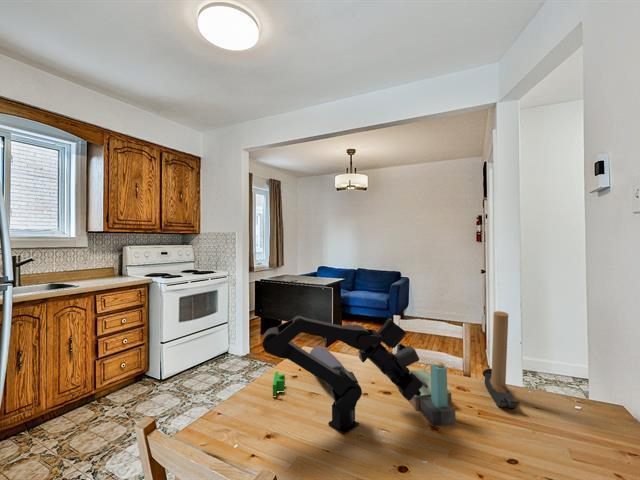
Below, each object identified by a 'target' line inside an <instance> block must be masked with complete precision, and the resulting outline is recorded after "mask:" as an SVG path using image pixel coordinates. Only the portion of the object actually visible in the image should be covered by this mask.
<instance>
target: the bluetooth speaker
mask: <svg viewBox="0 0 640 480" xmlns="http://www.w3.org/2000/svg"><path fill="white" fill-rule="evenodd" d="M309 354H311V355H312V356H314V357H316V358H317V359H319V360H320V361H322V362H324V363H325V364H327V365H328V366H330V367H332V368H333V369H336V370H341V367H342V366H343V367H344V365H343V364H342V363H341V362H340V361H339V360H338V358H337V357H336V356H335V355H334V354H333V353H332V352H330V351H329V350H328V349H327V348H326V347H324V346H322V345H320V346H319V345H317V346H315V347H313V348H312V349H311V351H310V353H309ZM344 368H345V367H344ZM324 384H325V385H326V386H327V387H329V388H330V389H331V390H332V389H333V388H332V387H331V386H330V385H329V384H327V383H326V382H324Z"/></svg>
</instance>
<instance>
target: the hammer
mask: <svg viewBox="0 0 640 480" xmlns="http://www.w3.org/2000/svg"><path fill="white" fill-rule="evenodd" d="M492 316H493V319H492V321H493V322H492V325H493V326H492V347H491V350H492V351H491V368H486V369H484V370H483V371H482V375H483V377H484V385H485V387H486V389H487V392H488V393H489V395H490V397H491V398H492V400H493V402H494V403H495V405H496V406H497V407H500V408H501V407H502V408H510V409H517V407H518V406H519V404H520V401H515V399H514V398H513V395H512V394H511V392H510V390H509V389H508V387H507V384H506V382H507V381H506V380H507V359H508V358H507V357H508V355H507V354H508V330H509V313H508V312H505V311H500V310H499V311H498V310H495V311H493V315H492Z"/></svg>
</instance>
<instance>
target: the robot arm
mask: <svg viewBox="0 0 640 480" xmlns="http://www.w3.org/2000/svg"><path fill="white" fill-rule="evenodd" d="M301 333H302V334H308V335H312V336H316V337H322V338H326V339H329V340H335V341H340V342H341V343H344V344H346V345H347V346H349V347H351V348H353V349H357V350H358V353H359V354H358V355H359V356H358V358H359V360H360V362H361V363H365V362H366V361H367V359H368V360H369V361H370V362H372V364H373V365H374V366H375V367H377V369H379V371H380V372H381V373H382V374H383V375H385V376H386V377H387V378H388V379H389V380H390V382H392V383H393V385H395V387H397V386H398V388H399V389H398V388H397V389H398V392H399V393H400V395H402V396H403V398H404V399H405V400H407V401H408V402H409V400H411V399H412V398H413V396H414V395H417V396H420V394H421V392H420V391H419V389H420V388H421V387H422V386H423V383H422V382H421V381H420V380H419V379H418V378H417V377H416V376H415V375H414V374H413V373H412V372H411V373H410V371H411V370H410V369H409V368H408V367H409V366H411V365H413V364H415V363H418V362H419V361H420V357H419V355H418V353H417V351H416V349H415V348H414V347H412V345H406V346H405V345H404V344H403V343H400V342H401V341H402V340H403V339H404V338H405V337H406V335H408V334H407V332H406V331H405V330H404V329H403V328H402V327H400V326H399V325H398V324H396V323H395V322H394V321H393V320H392V319H391V318H387V319H386V321H385V322H384V324H382V326H381V327H379V329H378V330H376V329H373V328H365V327H364V325H361V324H360V325H359V324H346V325H343V324H342V325H339V324H335V323H331V322H325V321H321V320H318V319H313V318H309V317H308V318H307V317H304V316H302V315H296V316H294V317H293V318H291V319H290V320H288V321H286V322H283V323H281V324H280V325H278V326H277V327H276V326H273V327H270V328H268V329H267V330H266V331H265V333H264V334H263V340H262V349H263V350H264V352H265V353H267V354H269V355H271V356H274V357H276V358H280V359H284V360H289V361H290V362H292V363H294V364H295V365H297V366H298V367H300V368H301V369H304V371H306V372H308V373H310V374H312V375H313V376H315V377H317V378H318V379H319V380H321V381H323V383H325V382H326V383H327V384H329V385H330V386H331V387H332V388H333V389H331V390H330V393H331V396H332V398H333V403H332V404H331V420H330V421H329V422H328V424H327V425H329V427H331V428H333V429H334V430H336V431H338V432H339V433H340V434H343V435H345V434H347V433H348V432H351V431H352V430H354V429H355V428H357V427H358V426H359V424H360V423H359V422H358V421H356V406H357V405H358V404H357V402H358V401H359V400H361V397H362V394H363V393H362V392H363V390H362V386H361V385H360V384H359V380H358V379H357V377H356V375H355V374H354V373H353V371H349V370H347V368H346V367H343V366H344V365H343V366H342V367H341V370H336V369H333V368H332V367H330V366H328V365H327V364H325V363H324V362H322V361H320V360H319V359H317V358H316V357H314V356H312V355H311V354H310V353H309V352H308V351H306V350H305V349H303V348H301V347H299V346H298V345H296V344H295V343H294V342H293V339H295V338H296V337H297V336H298V335H300V334H301ZM382 343H383V344H384V345H383V344H382ZM385 346H386V347H387V348H388V349H390V348H391V349H395V348H396V353H393V352H390V351H389V350H388V349H387V348H386V347H385Z"/></svg>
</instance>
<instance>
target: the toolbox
mask: <svg viewBox="0 0 640 480" xmlns="http://www.w3.org/2000/svg"><path fill="white" fill-rule="evenodd" d="M409 371H410V373H411V372H412V373H413V374H414V375H415V376H416V377H417V378H418V379H419V380H420V381H421V382H422V383H423V386H422V387H421V388H420V389H419V391H420V392H421V394H420V396H417V395H414V396H413V398H412V399H411V400H409V401H408V403H409V404H410V405H411V406H412V407H413V409H414V410H415V411H419V412H420V413H421V414H422V416H423V417H424V418H425V419H426V420H427V422H429V424H430V425H431V426H432V427H442V426H452V425H456V424H457V423H456V417H457V416H456V410H455V409H454V407H453V406H452V392H451V391H450V390H449V389H447V403H448V407H442V408H437V407H436V406H435V405H434V404H433V403H432V402H431V373H429V372H428V371H427V370H426V369H423V370H421V369H419V370H409ZM396 388H397V389H398V390H399V388H398V386H396Z"/></svg>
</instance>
